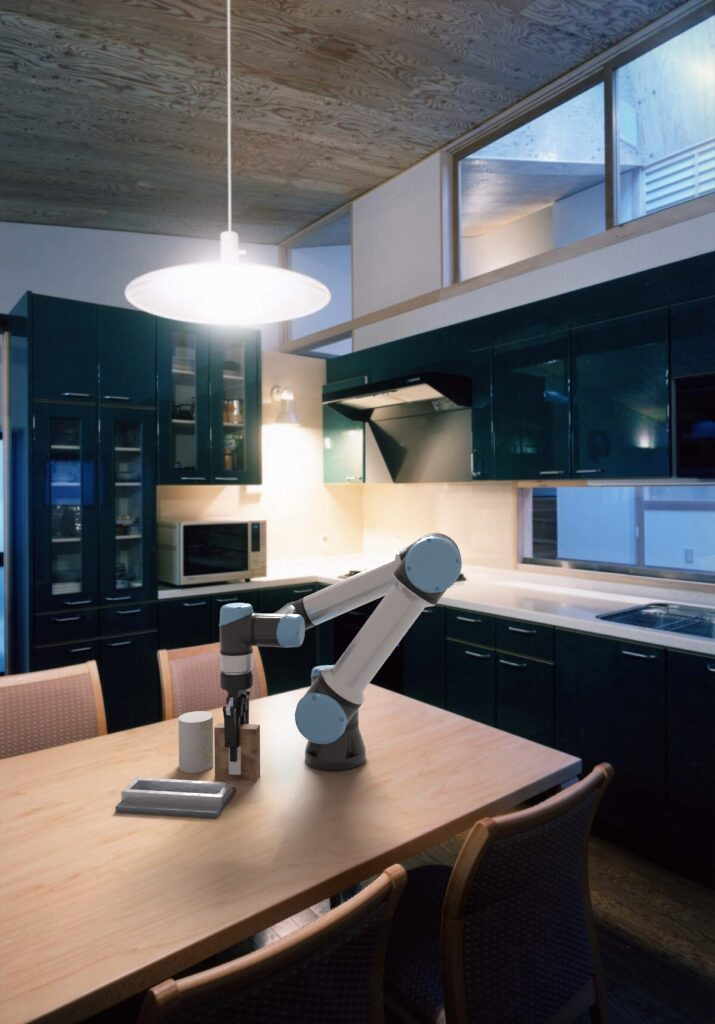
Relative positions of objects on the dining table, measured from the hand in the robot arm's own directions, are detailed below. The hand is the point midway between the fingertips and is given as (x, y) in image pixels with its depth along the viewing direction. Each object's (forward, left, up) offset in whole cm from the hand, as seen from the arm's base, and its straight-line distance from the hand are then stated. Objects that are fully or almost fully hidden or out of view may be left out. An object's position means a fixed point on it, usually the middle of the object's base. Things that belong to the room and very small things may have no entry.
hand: (237, 770), depth 152 cm
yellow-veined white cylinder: (+12, -5, -2) cm, 13 cm away
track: (+9, +14, -2) cm, 16 cm away
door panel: (0, 0, -2) cm, 2 cm away
